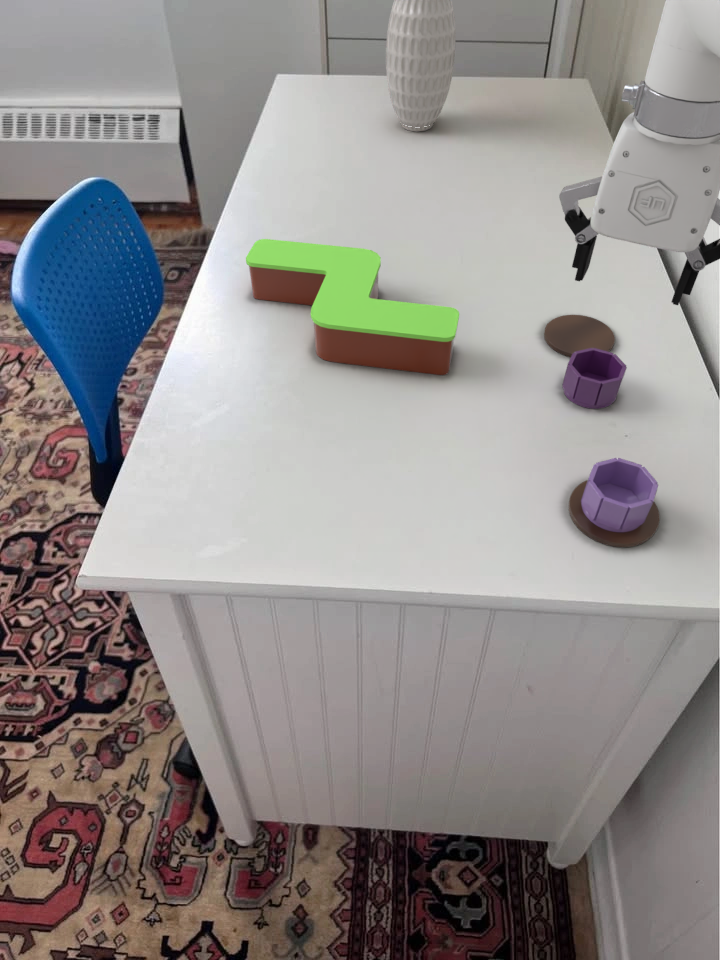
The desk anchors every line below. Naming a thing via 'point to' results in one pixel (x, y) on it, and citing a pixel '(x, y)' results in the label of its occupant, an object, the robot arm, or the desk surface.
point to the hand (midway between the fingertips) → (628, 285)
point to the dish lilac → (618, 495)
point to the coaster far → (578, 334)
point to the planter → (353, 307)
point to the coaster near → (609, 537)
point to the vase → (420, 59)
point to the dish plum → (593, 378)
